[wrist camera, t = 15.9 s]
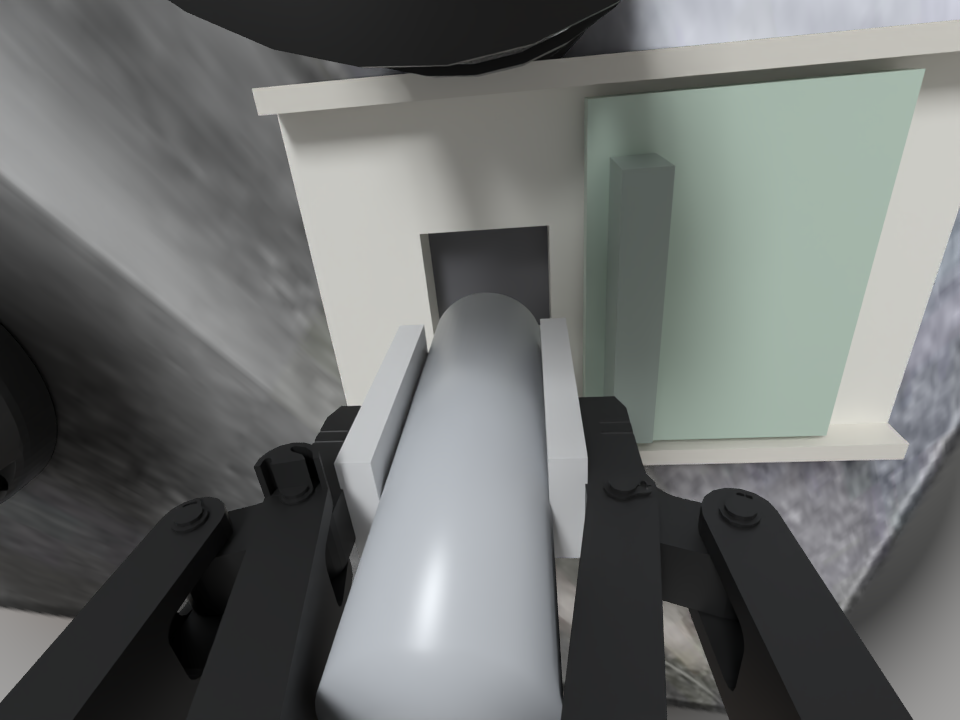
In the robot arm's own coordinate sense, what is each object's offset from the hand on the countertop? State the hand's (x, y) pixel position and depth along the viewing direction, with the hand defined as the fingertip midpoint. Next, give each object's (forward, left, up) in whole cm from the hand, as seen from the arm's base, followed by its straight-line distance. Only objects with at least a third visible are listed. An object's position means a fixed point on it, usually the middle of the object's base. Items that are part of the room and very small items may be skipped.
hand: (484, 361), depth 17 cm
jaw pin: (0, 0, -2) cm, 2 cm away
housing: (+5, 0, -8) cm, 9 cm away
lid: (+9, 0, -6) cm, 10 cm away
